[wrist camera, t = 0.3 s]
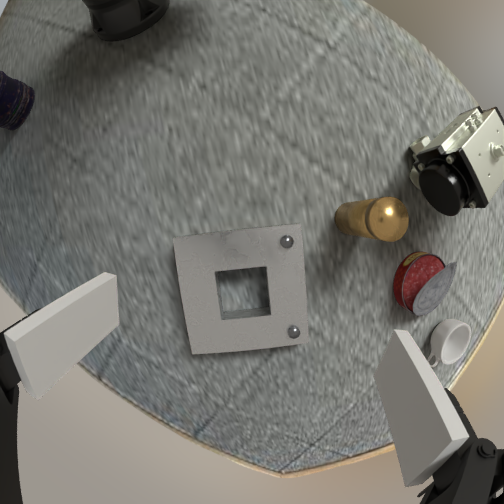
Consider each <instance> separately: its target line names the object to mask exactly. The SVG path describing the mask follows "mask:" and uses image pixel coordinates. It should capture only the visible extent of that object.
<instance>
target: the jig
mask: <svg viewBox="0 0 504 504" xmlns="http://www.w3.org/2000/svg"><path fill="white" fill-rule="evenodd" d="M173 244H174V251H175V259H176V266H177V273H178V279H179V285H180V292H181V298H182V303H183V309H184V315H185V320H186V325H187V331H188V336H189V341H190V345H191V350H192V354H207V353H222V352H235V351H246V350H256V349H265V348H273V347H281V346H289V345H296V344H303V343H309V337H308V315H307V297H306V281H305V267H304V254H303V242H302V231H301V224H297V223H294V224H284V225H274V226H265V227H255V228H246V229H237V230H228V231H219V232H210V233H202V234H194V235H185V236H178V237H175V238H173ZM262 266H265V270H266V280H267V290H268V301H269V307H263V308H254V309H245V310H235V311H224V312H223V306H222V298H221V291H220V284H219V276H218V271H225V270H234V269H244V268H253V267H262Z"/></svg>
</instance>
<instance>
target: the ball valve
mask: <svg viewBox="0 0 504 504" xmlns="http://www.w3.org/2000/svg"><path fill="white" fill-rule="evenodd" d="M410 148H411V149H412V151H413V152H414V154H413V155H412V156H413V158H414V159H415V162H414V163H413V167H412V170H411V173H410V179H411V181H412V183H413V184H414V185H415V186H416V187H417V188H418V189H420V190H421V191H422V193H423V195H424V196H425V198H426V199H427V201H428V202H429V203H430V204H431V205H432V206H433V207H434V208H435V209H436V210H437V211H439V212H440V213H442V214H444V215H447V216H454V215H457V214H458V213H459V212H460V210H461V209H462V208H472V209H474V208H485V207H486V206H487V204H488V203H489V202H490V200H491V199H492V197H493V196H494V194H495V193H496V191H497V190H498V188H499V187H500V185H501V183H502V182H503V180H504V120H503V117H502V116H501V114H500V112H499V110H498V108H497V107H494V108H491V109H489V110H483V111H482V109H481V108H480V106H478V107H475V108H473V109H471V110H468V111H466V112H464V113H461V114H460V115H459V116H458V117H457V118H456V119H455V120H453V121H452V122H451V123H450V124H449V125H448V126H447V127H446V128H445V129H444V130H443V131H442V132H441V133H440V134H439V135H438V136H437V137H435V138H434V139H433V140H432V141H431V140H430V139H429V137H428V136H426V135H425V136H423V137H421V138H419V139H417V140H416V141H415V142H413V143H412V144H411V145H410Z"/></svg>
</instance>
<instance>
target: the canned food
mask: <svg viewBox="0 0 504 504" xmlns="http://www.w3.org/2000/svg"><path fill="white" fill-rule="evenodd" d="M456 266H457V265H456V262H452V263H450V264H448V265H447V266H445V264H444V262H443V260H442V259H441V258H440V257H438V256H437V255H435V254H430V253H425V252H415V253H412V254H410V255H408V256H407V257H406V258H405V259H404V260H403V261H402V262H401V264H400V265H399V267H398V269H397V271H396V274H395V278H394V284H393V288H394V295H395V298H396V300H397V302H398V303H399V305H400V306H402V307H403V308H404V309H406V310H408V311H409V312H411V313H413V314H415V315H418V316H419V315H425V314H428V313H430V312H431V311H433V310H434V309H435V308H436V307H437V306H438V305H439V304H440V303H441V301H442V299H443V298H444V297H445V295H446V294H447V292H448V290H449V288H450V286H451V284H452V281H453V277H454V275H455V269H456Z"/></svg>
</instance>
